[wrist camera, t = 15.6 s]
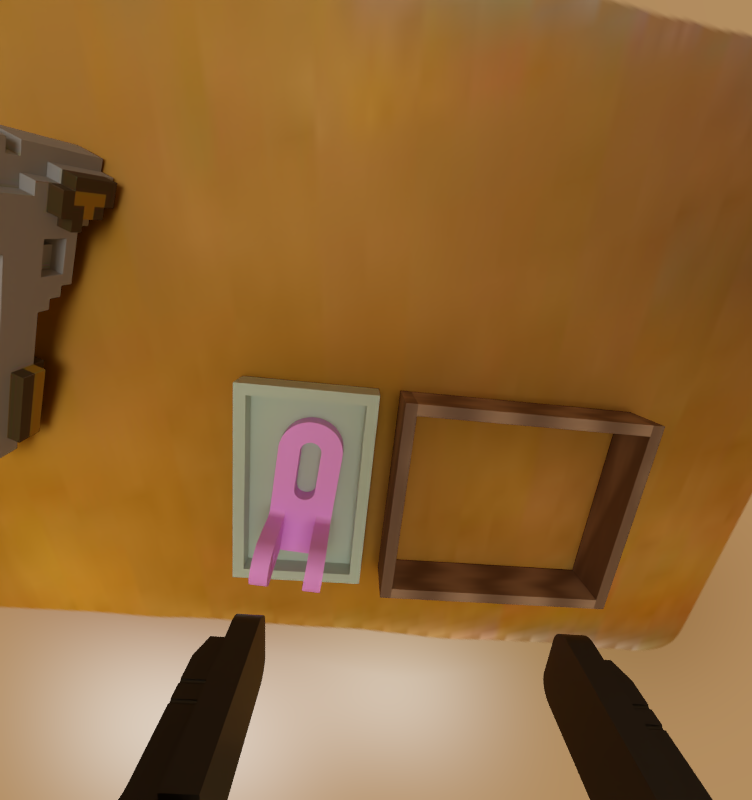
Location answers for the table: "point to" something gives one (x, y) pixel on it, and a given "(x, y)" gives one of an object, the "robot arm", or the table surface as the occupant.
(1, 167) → the toy
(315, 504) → the bracket
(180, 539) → the table surface
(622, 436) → the crate
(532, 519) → the table surface
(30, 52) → the table surface
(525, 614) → the table surface
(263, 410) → the tray
